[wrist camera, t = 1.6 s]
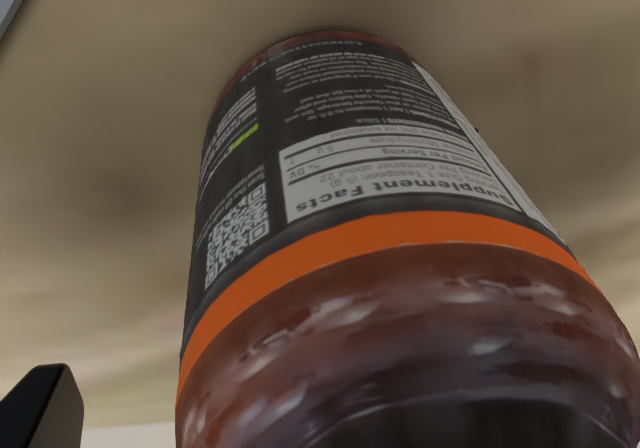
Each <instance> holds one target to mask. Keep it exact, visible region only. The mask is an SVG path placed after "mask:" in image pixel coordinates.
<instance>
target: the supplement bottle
mask: <svg viewBox="0 0 640 448" xmlns="http://www.w3.org/2000/svg"><path fill="white" fill-rule="evenodd" d="M195 212H196V216H195V225H194V234H193V236H194V237H193V246H192V255H191V265H190V271H189V282H188V290H187V301H186V310H185V318H184V331H183V340H182V346H181V351H180V368H179V382H178V389H177V397H176V406H175V436H176V448H637V445H638V443H639V441H640V359H639V356H638V353H637V350H636V347H635V345H634V343H633V341H632V338H631V336H630V334H629V332H628V330H627V328H626V327H625V325H624V324H623V322H622V321H621V320H620V318H619V317H618V316H617V314H616V312H615V310H614V309H613V307H612V306H611V304H610V303H609V302H608V300H607V299H606V298H605V296H604V295H603V294H602V293H601V291H600V290H599V289H598V287H597V286H596V285H595V284H594V282H593V281H592V280H591V279H590V277H589V276H588V275H587V273H586V272H585V270H584V269H583V268H582V267H581V266H580V265H579V264H578V262H577V260H576V259H575V257H574V256H573V254H572V252H571V251H570V249H569V247H568V246H567V245H566V244H565V242H564V241H563V240H562V238H561V237H560V236H559V235H558V234H557V232H556V231H555V230H554V228H553V227H552V226H551V225H550V223H549V222H548V221H547V220H546V219H545V218H544V216H543V215H542V214H541V212H540V211H539V210H538V209H537V208H536V206H535V205H534V204H533V203H532V202H531V200H530V199H529V198H528V196H527V195H526V193H525V192H524V191H523V189H522V188H521V187H520V185H519V184H518V183H517V182H516V181H515V179H514V178H513V177H512V176H511V174H510V173H509V172H508V171H507V170H506V168H505V167H504V166H503V165H502V164H501V162H500V161H499V160H498V158H497V157H496V155H495V154H494V153H493V152H492V151H491V150H490V148H489V147H488V146H487V144H486V143H485V142H484V141H483V139H482V138H481V137H480V136H479V134H478V129H476V128H475V129H474V128H473V126H472V125H471V124H470V123H469V122H468V120H467V119H466V118H465V117H464V115H463V114H462V113H461V111H460V110H459V108H458V107H457V106H456V105H455V104H454V103H453V102H452V100H451V99H450V97H449V96H448V95H447V94H446V92H445V91H444V90H443V89H442V88H441V87H440V86H439V84H438V83H437V82H436V81H435V80H434V79H433V78H432V77H431V76H430V75H429V74H428V73H427V71H426V70H425V69H424V68H423V67H422V66H421V65H420V64H419V63H418V62H416V61H415V59H414V58H412V57H411V56H409V55H408V54H406V53H405V52H404V51H403V50H402V49H400V48H399V47H396V46H395V45H393V44H392V43H389V42H387V41H385V40H383V39H380V38H377V37H374V36H371V35H367V34H362V33H356V32H351V31H332V30H330V31H320V32H313V33H306V34H302V35H299V36H295V37H291V38H288V39H286V40H283V41H281V42H278V43H276V44H274V45H272V46H270V47H269V48H267V49H266V50H265V51H264V52H263V53H261V54H259V55H257V56H256V57H255V58H253V59H252V60H251V61H249V62H248V63H247V64H246V65H244V66H243V67H242V68H241V69H240V70H239V71H238V73H237V74H236V75H235V76H234V77H233V78H232V79H231V81H230V82H229V83H228V84H227V86H226V87H225V88H224V90H223V92H222V93H221V95H220V97H219V99H218V101H217V103H216V105H215V106H214V109H213V111H212V115H211V118H210V120H209V124H208V127H207V131H206V135H205V138H204V145H203V151H202V162H201V170H200V179H199V187H198V196H197V203H196V211H195Z"/></svg>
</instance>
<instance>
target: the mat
mask: <svg viewBox="0 0 640 448" xmlns="http://www.w3.org/2000/svg"><path fill="white" fill-rule="evenodd" d="M22 1H23V0H0V40H1V38H2V36H3V35H4V33H5V31H6V29H7V28H8V26H9V24H10V22H11V21H12V19H13V17H14V15H15V13H16V12H17V10H18V8H19V6H20V5H21V3H22Z"/></svg>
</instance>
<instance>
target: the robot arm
mask: <svg viewBox="0 0 640 448" xmlns="http://www.w3.org/2000/svg"><path fill="white" fill-rule="evenodd" d="M83 419H84V404H83V400H82V397H81V394H80V392H79V389H78V387H77V384H76V382H75V379H74V377H73V374H72V372H71V370H70V368H69V366H68V365H66V364H64V363H57V364H46V365H39V366H36V367H34V368H33V369H31V370H30V371H29V372H28V373H27V374H26V375H25V376H24V377H23V378H22V379H21V380H20V381H19V382H18V384H17V385H16V386H15V387H14V388H13V389H12V390H11V391H10V392H9V393H8V394H7V395H6V396H5V397H4V398H3V399H2V400H1V401H0V448H80V444H81V435H82V427H83Z"/></svg>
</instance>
